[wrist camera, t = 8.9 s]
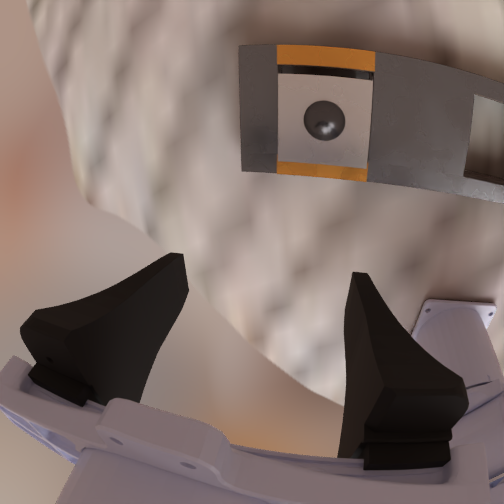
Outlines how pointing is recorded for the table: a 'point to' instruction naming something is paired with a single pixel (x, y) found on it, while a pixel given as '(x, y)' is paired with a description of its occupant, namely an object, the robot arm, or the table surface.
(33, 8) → the table surface
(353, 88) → the drilled metal block
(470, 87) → the rail
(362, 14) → the table surface
